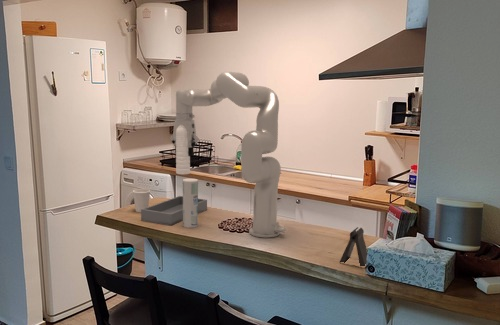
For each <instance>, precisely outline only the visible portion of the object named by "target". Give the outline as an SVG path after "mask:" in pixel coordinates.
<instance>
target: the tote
mask: <svg viewBox="0 0 500 325" xmlns="http://www.w3.org/2000/svg"><path fill="white" fill-rule="evenodd" d="M207 210H208V199H203V198H198V215H199V214H201V213H203V212H206V211H207ZM140 221H143V222H147V223H153V224H160V225H165V226H174V225H176V224H179V223H181V222H183V195H182V196H181V195H179V196H176V197H173V198H169V199H168V200H163V201H162V202H159V203H155V204H151V205H148V207H147V208H144V209H141V212H140Z"/></svg>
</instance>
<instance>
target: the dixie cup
mask: <svg viewBox="0 0 500 325" xmlns="http://www.w3.org/2000/svg"><path fill="white" fill-rule="evenodd" d="M131 193H132V195H133V202H134V208H135V212H136V213H141V209H144V208H147V207H149V206H150V205H149V204H150V203H149V202H150V196H151V195H150V194H151V189H149V188H135V189H133V190H132V192H131Z"/></svg>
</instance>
